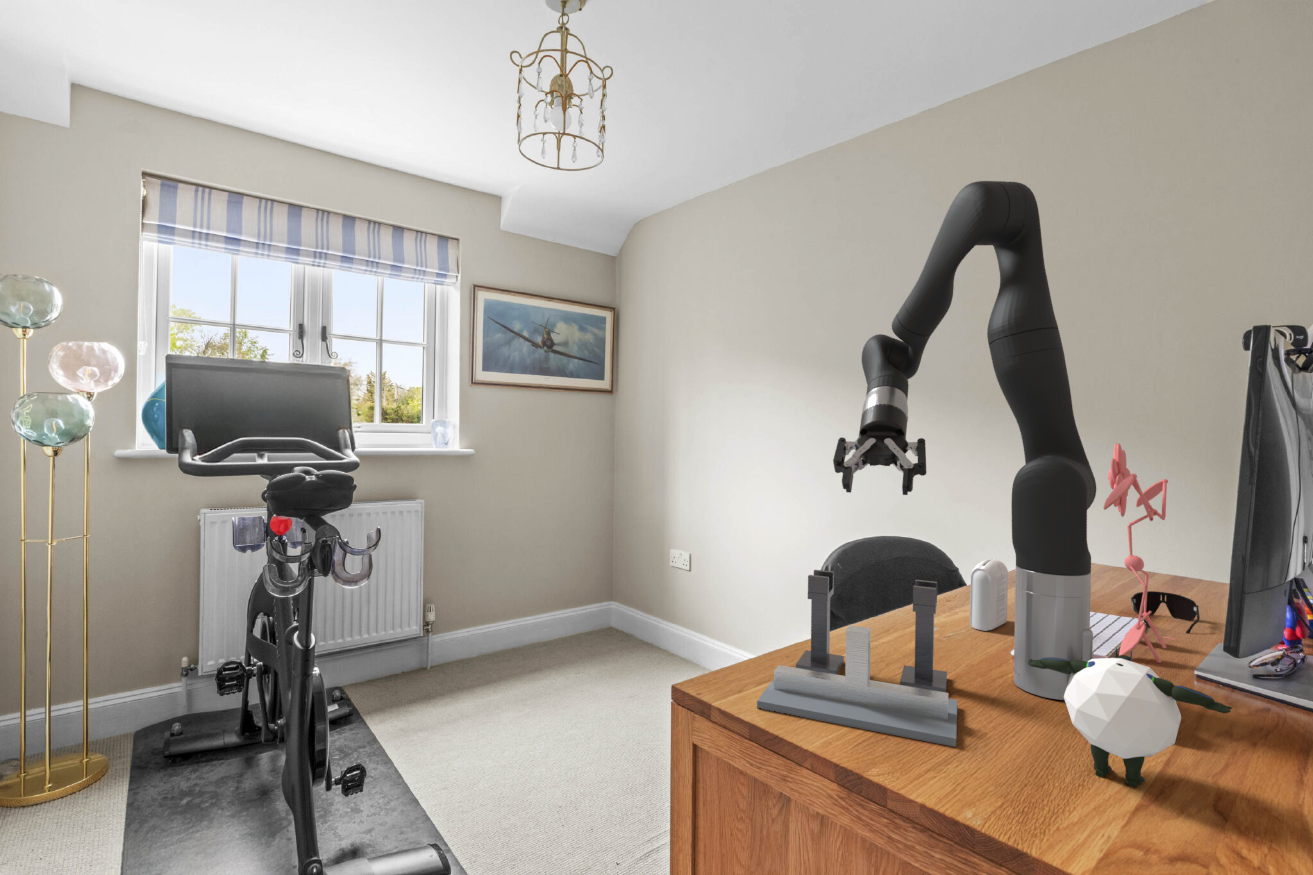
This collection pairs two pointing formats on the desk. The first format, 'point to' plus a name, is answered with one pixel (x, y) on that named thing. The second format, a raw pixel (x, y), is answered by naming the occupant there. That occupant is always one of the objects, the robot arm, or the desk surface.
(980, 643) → the desk surface
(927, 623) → the hook stand
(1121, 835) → the desk surface
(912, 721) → the mat
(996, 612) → the photo printer
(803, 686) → the rail
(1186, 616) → the sunglasses
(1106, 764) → the figurine
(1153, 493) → the figurine
